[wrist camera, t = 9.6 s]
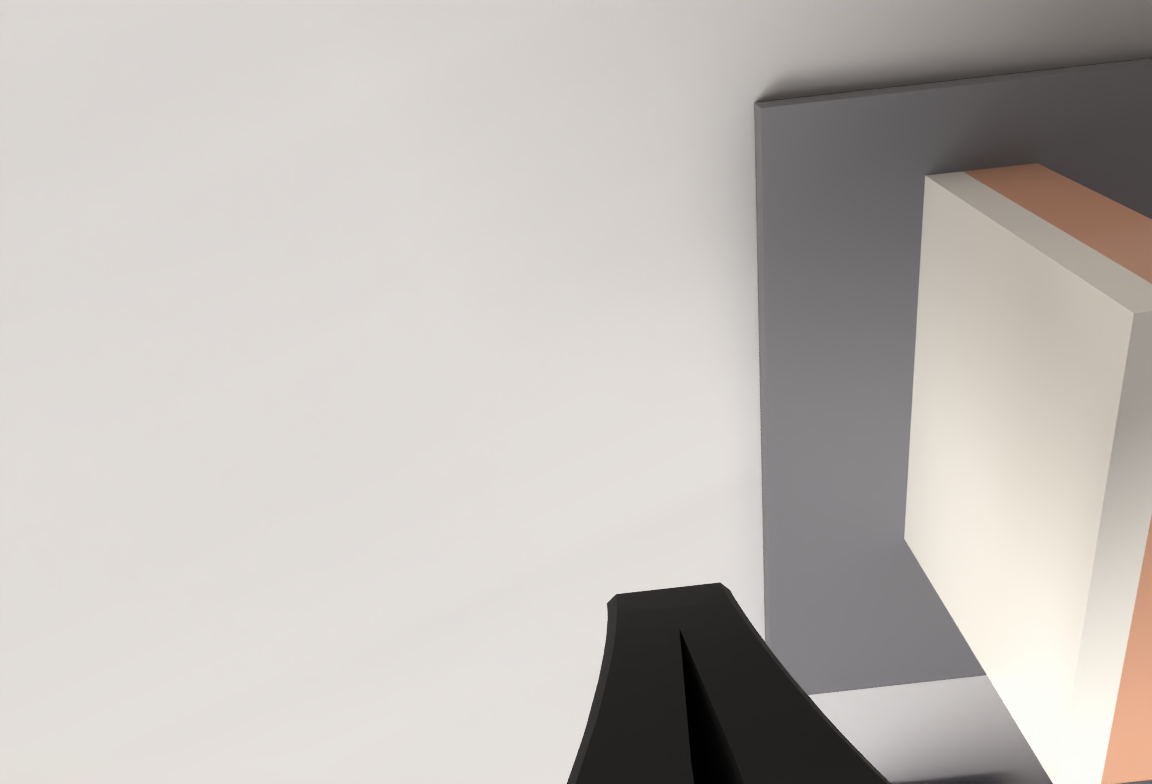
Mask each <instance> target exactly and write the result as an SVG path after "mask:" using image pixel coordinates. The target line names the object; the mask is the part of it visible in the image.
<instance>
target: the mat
mask: <svg viewBox="0 0 1152 784" xmlns="http://www.w3.org/2000/svg"><path fill="white" fill-rule="evenodd" d="M754 114H755V163H756V212H757V261H758V310H759V360H760V409H761V458H762V507H763V556H764V605H765V643H766V644H767V645H768V647H769V648H770V649H771V651H772V652H773V653H774V655H775V656H776V657H777V659H778V660H779V661H780V662H781V664H782V665H783V666H784V667H785V669H786V670H787V671H788V672H789V674H790V675H791V676H792V677H793V678H794V680H795V681H796V682H797V683H798V684H799V685H800V687H801V688H802V689H803V690H804V691H805V692H806V694H807V695H812V694H821V693H830V692H839V691H848V690H857V689H865V688H874V687H883V686H892V685H901V684H910V683H919V682H928V681H937V680H946V679H955V678H964V677H973V676H982V675H987V674H986V673H985V671H984V669H983V668H982V666H981V664H980V663H979V661H978V660H977V658H976V656H975V655H974V653H973V651H972V650H971V648H970V646H969V645H968V643H967V641H966V640H965V638H964V636H963V635H962V633H961V632H960V630H959V628H958V627H957V625H956V623H955V622H954V620H953V618H952V617H951V615H950V613H949V612H948V610H947V608H946V607H945V605H944V604H943V602H942V600H941V599H940V597H939V595H938V594H937V592H936V590H935V589H934V587H933V585H932V584H931V582H930V580H929V579H928V577H927V575H926V574H925V572H924V571H923V569H922V567H921V566H920V564H919V562H918V561H917V559H916V557H915V556H914V554H913V552H912V551H911V549H910V547H909V546H908V544H907V543H906V541H905V539H904V533H905V516H906V499H907V481H908V464H909V447H910V429H911V412H912V395H913V377H914V360H915V343H916V326H917V308H918V291H919V274H920V256H921V239H922V222H923V204H924V187H925V176H926V175H935V174H944V173H953V172H962V171H971V170H980V169H989V168H998V167H1008V166H1017V165H1026V164H1035V163H1038V164H1040V165H1042V166H1044V167H1046V168H1048V169H1050V170H1052V171H1054V172H1056V173H1058V174H1060V175H1062V176H1064V177H1066V178H1068V179H1070V180H1073V181H1075V182H1077V183H1079V184H1081V185H1083V186H1085V187H1087V188H1089V189H1091V190H1093V191H1095V192H1097V193H1099V194H1101V195H1103V196H1105V197H1107V198H1109V199H1111V200H1113V201H1115V202H1117V203H1119V204H1121V205H1123V206H1125V207H1127V208H1129V209H1132V210H1134V211H1136V212H1138V213H1140V214H1142V215H1144V216H1146V217H1148V218H1150V219H1152V58H1148V59H1139V60H1130V61H1121V62H1112V63H1103V64H1094V65H1085V66H1076V67H1067V68H1058V69H1050V70H1041V71H1032V72H1023V73H1014V74H1005V75H996V76H987V77H978V78H969V79H960V80H951V81H942V82H933V83H925V84H916V85H907V86H898V87H889V88H880V89H871V90H862V91H853V92H844V93H835V94H826V95H817V96H809V97H800V98H791V99H782V100H773V101H764V102H755V103H754Z"/></svg>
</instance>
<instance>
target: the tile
mask: <svg viewBox="0 0 1152 784" xmlns="http://www.w3.org/2000/svg"><path fill="white" fill-rule="evenodd" d="M904 539H905V541H906V543H907V544H908V546H909V547H910V549H911V551H912V552H913V554H914V556H915V557H916V559H917V561H918V562H919V564H920V566H921V567H922V569H923V571H924V572H925V574H926V575H927V577H928V579H929V580H930V582H931V584H932V585H933V587H934V589H935V590H936V592H937V594H938V595H939V597H940V599H941V600H942V602H943V604H944V605H945V607H946V608H947V610H948V612H949V613H950V615H951V617H952V618H953V620H954V622H955V623H956V625H957V627H958V628H959V630H960V632H961V633H962V635H963V636H964V638H965V640H966V641H967V643H968V645H969V646H970V648H971V650H972V651H973V653H974V655H975V656H976V658H977V660H978V661H979V663H980V664H981V666H982V668H983V669H984V671H985V673H986V674H987V676H988V678H989V679H990V681H991V683H992V684H993V686H994V688H995V689H996V691H997V692H998V694H999V696H1000V697H1001V699H1002V701H1003V702H1004V704H1005V706H1006V707H1007V709H1008V711H1009V712H1010V714H1011V716H1012V717H1013V719H1014V721H1015V722H1016V724H1017V725H1018V727H1019V729H1020V730H1021V732H1022V734H1023V735H1024V737H1025V739H1026V740H1027V742H1028V744H1029V745H1030V747H1031V749H1032V750H1033V752H1034V753H1035V755H1036V757H1037V758H1038V760H1039V762H1040V763H1041V765H1042V767H1043V768H1044V770H1045V772H1046V773H1047V775H1048V777H1049V778H1050V780H1051V781H1052V783H1053V784H1118V783H1127V782H1136V781H1145V780H1152V219H1150V218H1148V217H1146V216H1144V215H1142V214H1140V213H1138V212H1136V211H1134V210H1132V209H1129V208H1127V207H1125V206H1123V205H1121V204H1119V203H1117V202H1115V201H1113V200H1111V199H1109V198H1107V197H1105V196H1103V195H1101V194H1099V193H1097V192H1095V191H1093V190H1091V189H1089V188H1087V187H1085V186H1083V185H1081V184H1079V183H1077V182H1075V181H1073V180H1070V179H1068V178H1066V177H1064V176H1062V175H1060V174H1058V173H1056V172H1054V171H1052V170H1050V169H1048V168H1046V167H1044V166H1042V165H1040V164H1038V163H1035V164H1026V165H1017V166H1008V167H998V168H989V169H980V170H971V171H962V172H953V173H944V174H935V175H926V176H925V187H924V204H923V222H922V239H921V256H920V274H919V291H918V308H917V326H916V343H915V360H914V377H913V395H912V412H911V429H910V447H909V464H908V481H907V499H906V516H905V533H904Z"/></svg>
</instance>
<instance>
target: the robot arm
mask: <svg viewBox="0 0 1152 784" xmlns="http://www.w3.org/2000/svg"><path fill="white" fill-rule="evenodd" d="M607 609H608V623H607V635H606V643H605V650H604V655H603V661H602V666H601V671H600V676H599V680H598V684H597V688H596V692H595V696H594V699H593V703H592V707H591V711H590V714H589V718H588V722H587V726H586V729H585V732H584V736H583V739H582V742H581V745H580V748H579V750H578V753H577V756H576V759H575V762H574V765H573V768H572V771H571V774H570V776H569V779H568V782H567V784H891V783H890V782H889V781H888V780H887V779H886V778H885V777H884V776H883V775H882V774H881V773H880V772H879V771H878V770H877V769H876V768H875V767H874V766H873V765H872V764H871V763H870V762H869V761H868V760H867V759H866V758H865V757H864V756H863V755H862V754H861V753H860V752H859V751H858V750H857V749H856V748H855V747H854V746H853V745H852V744H851V743H850V742H849V741H848V740H847V739H846V738H845V737H844V735H843V734H842V733H841V732H840V731H839V730H838V729H837V728H836V727H835V726H834V725H833V723H832V722H831V721H830V720H829V719H828V718H827V717H826V716H825V715H824V714H823V712H822V711H821V710H820V709H819V708H818V707H817V705H816V704H815V703H814V702H813V701H812V700H811V698H810V697H809V696H808V695H807V694H806V692H805V691H804V690H803V689H802V688H801V687H800V685H799V684H798V683H797V682H796V681H795V680H794V678H793V677H792V676H791V675H790V674H789V672H788V671H787V670H786V669H785V667H784V666H783V665H782V664H781V662H780V661H779V660H778V659H777V657H776V656H775V655H774V653H773V652H772V651H771V649H770V648H769V647H768V645H767V644H766V643H765V641H764V640H763V639H762V638H761V636H760V635H759V633H758V632H757V631H756V629H755V628H754V626H753V625H752V624H751V622H750V621H749V619H748V618H747V616H746V615H745V614H744V612H743V610H742V609H741V607H740V606H739V604H738V603H737V601H736V600H735V598H734V596H733V595H732V593H731V591H730V590H729V589H728V588H726V587H725V586H724V585H723V584H721V583H712V584H703V585H694V586H686V587H677V588H668V589H659V590H650V591H641V592H632V593H623V594H616V595H615V596H614V597H613V598H612V599H611V600H610V601H609V602H608V603H607Z"/></svg>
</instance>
